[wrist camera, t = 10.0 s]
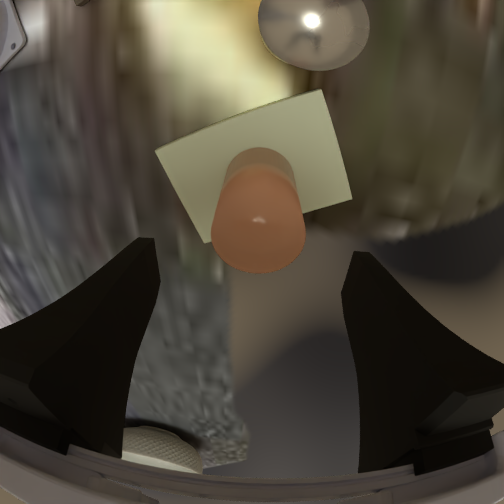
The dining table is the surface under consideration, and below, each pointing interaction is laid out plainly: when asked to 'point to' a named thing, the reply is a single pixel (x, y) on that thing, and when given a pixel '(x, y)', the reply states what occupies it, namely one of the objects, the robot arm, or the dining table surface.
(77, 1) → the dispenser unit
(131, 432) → the cereal bowl
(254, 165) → the terracotta cap
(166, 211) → the dining table surface
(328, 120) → the mat
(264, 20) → the grey shiny short cylinder
